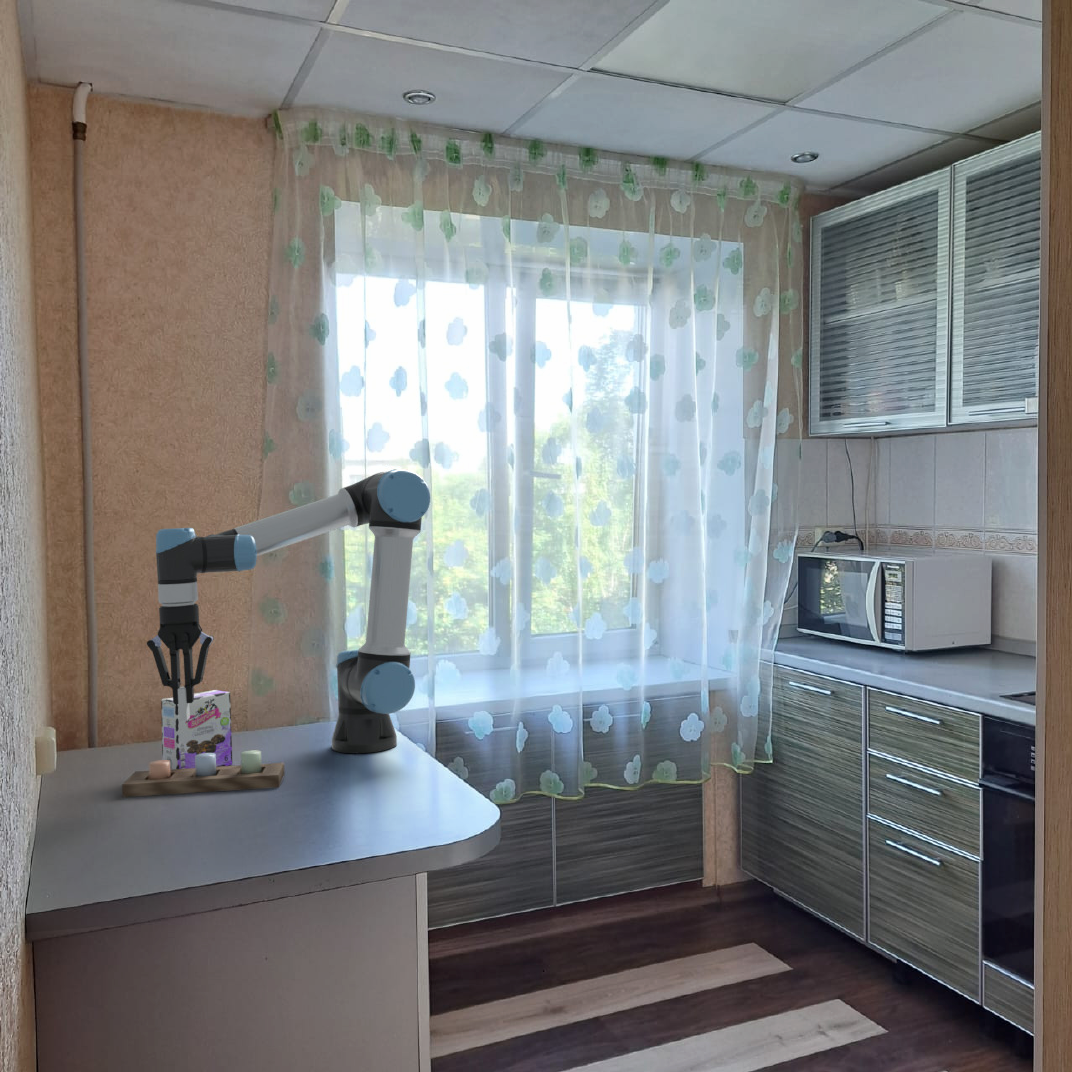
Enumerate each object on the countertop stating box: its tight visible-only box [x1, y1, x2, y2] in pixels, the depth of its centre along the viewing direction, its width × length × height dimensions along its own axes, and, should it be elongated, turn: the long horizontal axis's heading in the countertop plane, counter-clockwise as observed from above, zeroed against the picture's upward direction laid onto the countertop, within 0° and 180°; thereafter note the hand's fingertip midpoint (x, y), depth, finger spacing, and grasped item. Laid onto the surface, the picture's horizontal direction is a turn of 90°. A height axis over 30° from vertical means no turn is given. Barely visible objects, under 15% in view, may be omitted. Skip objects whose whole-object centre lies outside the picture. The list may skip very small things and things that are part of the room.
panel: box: [121, 762, 286, 798], centre depth 199 cm, size 30×10×2 cm, turn 98°
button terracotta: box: [148, 759, 171, 780], centre depth 198 cm, size 4×4×4 cm
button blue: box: [195, 753, 216, 777], centre depth 199 cm, size 4×4×4 cm
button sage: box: [240, 749, 262, 774], centre depth 200 cm, size 4×4×4 cm
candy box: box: [160, 689, 233, 769], centre depth 212 cm, size 14×6×16 cm, turn 143°
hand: (184, 719), depth 198 cm, fingers closed
